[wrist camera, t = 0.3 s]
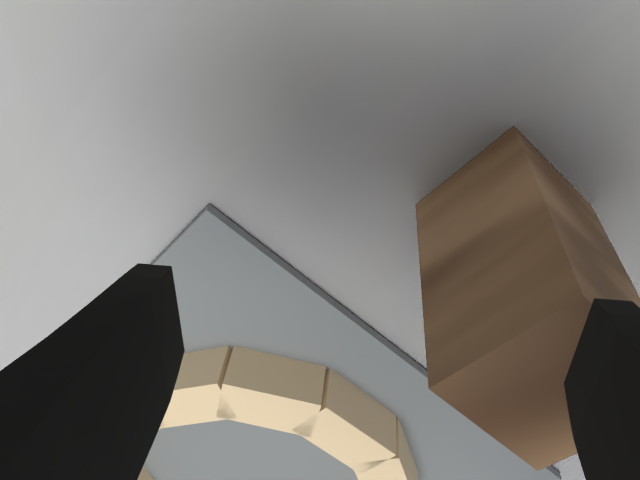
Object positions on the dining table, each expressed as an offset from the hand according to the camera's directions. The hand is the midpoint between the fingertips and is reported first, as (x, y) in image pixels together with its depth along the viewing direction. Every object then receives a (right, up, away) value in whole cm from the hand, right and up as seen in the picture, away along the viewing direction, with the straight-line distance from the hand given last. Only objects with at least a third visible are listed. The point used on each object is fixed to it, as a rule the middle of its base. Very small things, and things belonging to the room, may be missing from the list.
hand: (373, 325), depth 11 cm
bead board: (-4, -9, +18) cm, 21 cm away
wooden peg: (+5, +3, +9) cm, 11 cm away
